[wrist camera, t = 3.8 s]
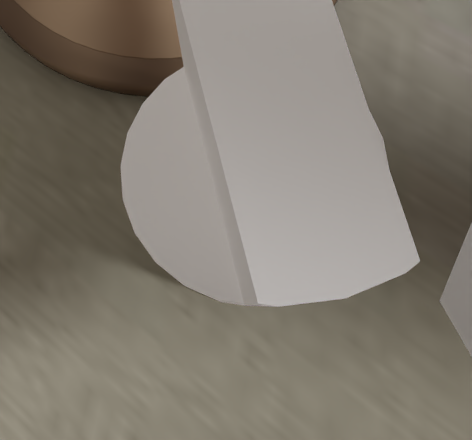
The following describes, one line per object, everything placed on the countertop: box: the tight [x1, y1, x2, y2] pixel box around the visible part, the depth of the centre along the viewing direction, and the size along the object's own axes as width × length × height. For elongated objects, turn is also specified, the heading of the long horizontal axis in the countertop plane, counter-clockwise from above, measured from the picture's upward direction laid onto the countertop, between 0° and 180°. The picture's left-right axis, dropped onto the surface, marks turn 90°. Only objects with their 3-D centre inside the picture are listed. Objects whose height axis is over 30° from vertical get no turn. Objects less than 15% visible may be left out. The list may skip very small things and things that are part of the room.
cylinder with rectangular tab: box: [120, 0, 420, 307], centre depth 14 cm, size 9×9×12 cm
